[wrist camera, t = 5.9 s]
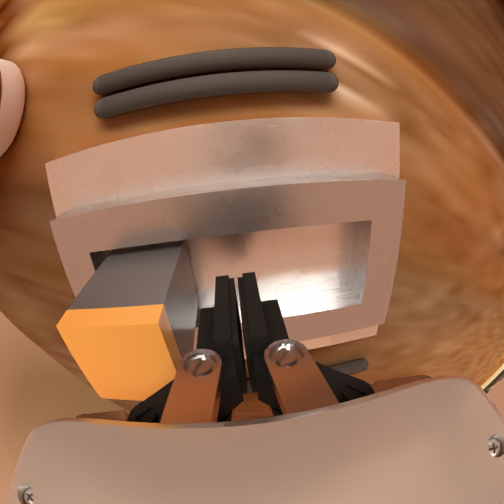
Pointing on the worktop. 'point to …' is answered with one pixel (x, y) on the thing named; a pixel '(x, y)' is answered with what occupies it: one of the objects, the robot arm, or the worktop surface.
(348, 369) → the cord
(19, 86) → the milk bottle
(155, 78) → the cord
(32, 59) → the worktop surface
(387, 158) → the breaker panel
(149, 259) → the block
